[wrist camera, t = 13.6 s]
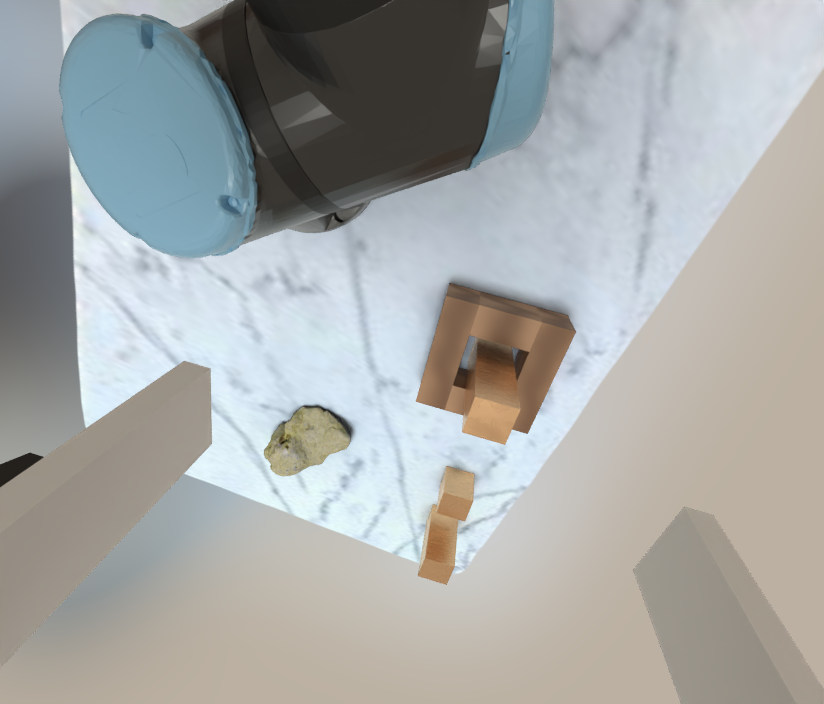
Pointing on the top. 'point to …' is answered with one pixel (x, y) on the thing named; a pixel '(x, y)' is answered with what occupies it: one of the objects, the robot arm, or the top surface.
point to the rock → (305, 441)
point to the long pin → (490, 392)
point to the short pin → (455, 493)
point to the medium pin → (438, 547)
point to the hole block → (501, 323)
